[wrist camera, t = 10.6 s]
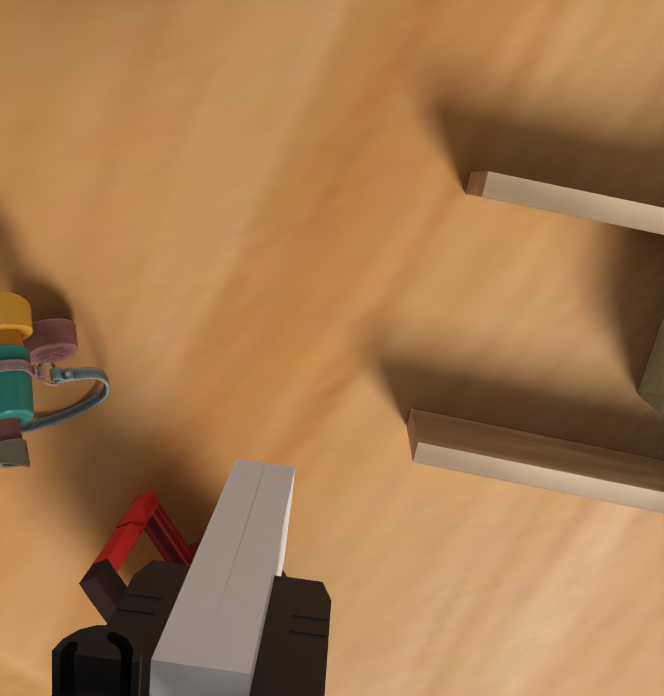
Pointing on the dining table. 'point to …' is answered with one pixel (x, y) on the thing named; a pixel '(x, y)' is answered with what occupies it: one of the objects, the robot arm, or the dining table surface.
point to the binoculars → (34, 374)
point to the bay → (528, 448)
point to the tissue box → (654, 374)
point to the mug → (142, 514)
